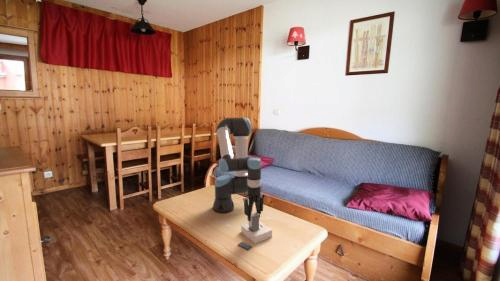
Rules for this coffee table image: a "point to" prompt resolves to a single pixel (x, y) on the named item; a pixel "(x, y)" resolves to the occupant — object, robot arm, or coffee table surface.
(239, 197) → the coffee table surface
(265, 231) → the outlet plate
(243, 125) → the robot arm
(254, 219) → the block
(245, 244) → the phone
